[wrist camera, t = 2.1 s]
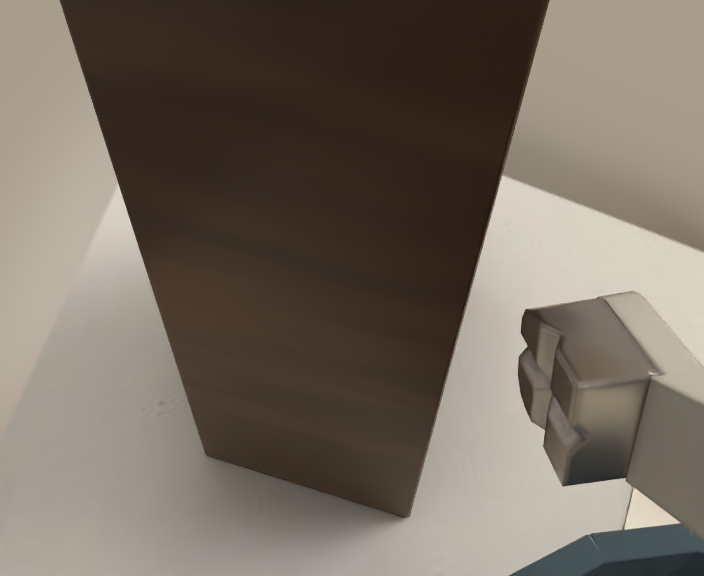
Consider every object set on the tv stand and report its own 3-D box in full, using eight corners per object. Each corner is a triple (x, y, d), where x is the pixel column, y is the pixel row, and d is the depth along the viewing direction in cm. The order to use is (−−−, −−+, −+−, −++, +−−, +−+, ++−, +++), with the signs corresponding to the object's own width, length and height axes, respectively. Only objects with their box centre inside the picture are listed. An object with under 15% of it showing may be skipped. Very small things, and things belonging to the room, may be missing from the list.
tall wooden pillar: (408, 519, 23) (802, -936, 4) (204, 455, 24) (-223, -864, 5) (468, 280, 30) (704, -621, 12) (310, 241, 32) (287, -623, 13)
